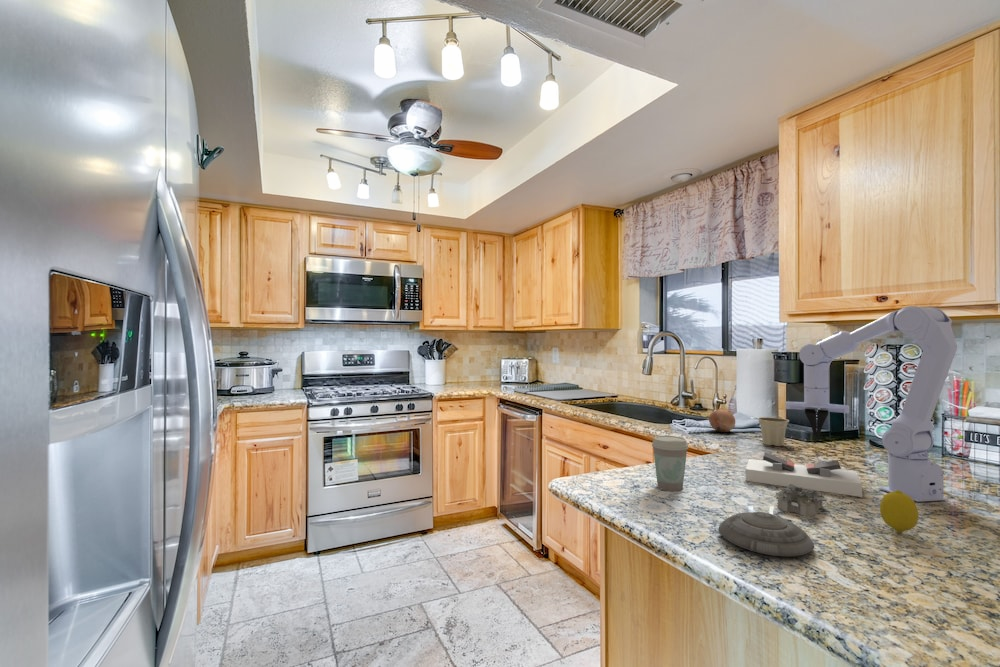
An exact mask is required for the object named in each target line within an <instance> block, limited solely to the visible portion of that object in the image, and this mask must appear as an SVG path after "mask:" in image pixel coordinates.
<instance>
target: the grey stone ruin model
mask: <svg viewBox="0 0 1000 667" xmlns="http://www.w3.org/2000/svg"><path fill="white" fill-rule="evenodd" d="M774 494H775V497H776V500H777V508H778V509H780V510H782V511H783V512H786V513H788V512H789V513H790V512H794V513H797V514H799V515H800V516H804V517H808V516H809V517H814V516H815V514H816V513H819V510H820V509H823V508H824V505H823V502H824V501H823V500H824V499H825V494H824V493H823V492H822V493H820V494H819V493H817V492H816V490H809V489H804V488H802V487H801V488H799V487H796V486H794V485H792V484H790V485H789V486H788V487H787V486H786V487H785V488H782V489H781V490H780V491H779V492H775V493H774ZM794 501H796V502H794Z"/></svg>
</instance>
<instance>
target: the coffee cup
mask: <svg viewBox="0 0 1000 667" xmlns="http://www.w3.org/2000/svg"><path fill="white" fill-rule="evenodd" d="M651 447H652V450H653V458H654V468H655V475H656V482H657V483H656V484H657V487H658V488H659V489H660V490H664V491H671V492H678V491H682V490H683V489H684V479H685V470H686V462H687V453H688V449H689V444H688V443H687V439H686V438H684V437H680V436H676V435H675V436H674V435H657V436H654V437H653V440H652V442H651Z"/></svg>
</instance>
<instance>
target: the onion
mask: <svg viewBox="0 0 1000 667" xmlns="http://www.w3.org/2000/svg"><path fill="white" fill-rule="evenodd" d="M708 422H709V425H710V427H711V426H712V427H713V428H712V427H711V428H712V429H714V428H715V429H714V430H715V431H717V432H718V433H722V434H723V433H729V432H730V431H731V430H733V429H734V428H735V426H736V418H735V416H734V414H732V413H731V412H730V411H728V410H725V409H723V408H722V407H720V408H718V409H716V410H714V411H712V412H711V413H710V415H709V418H708ZM716 429H717V430H716Z"/></svg>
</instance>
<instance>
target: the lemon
mask: <svg viewBox="0 0 1000 667" xmlns="http://www.w3.org/2000/svg"><path fill="white" fill-rule="evenodd" d="M879 513H880V516H881V518H882V520H883V521H884V523H885V524H886V525H887V526H888V527H890V528H892V529H893V530H894V531H895V532H896V533H897V534H902V533H903V532H905V531H911V530H912V529H913V528H914V527H916V525H917V524H918V521H919V511H918V507H917V504H916V501H914V500H913V499H912V498H910V497H909V496H908V495H906V494H904V493H902V492H901V491H899V490H896V491H895V492H887V493H886V494H884V496H883V497H882V498H881V501H880V503H879Z"/></svg>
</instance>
